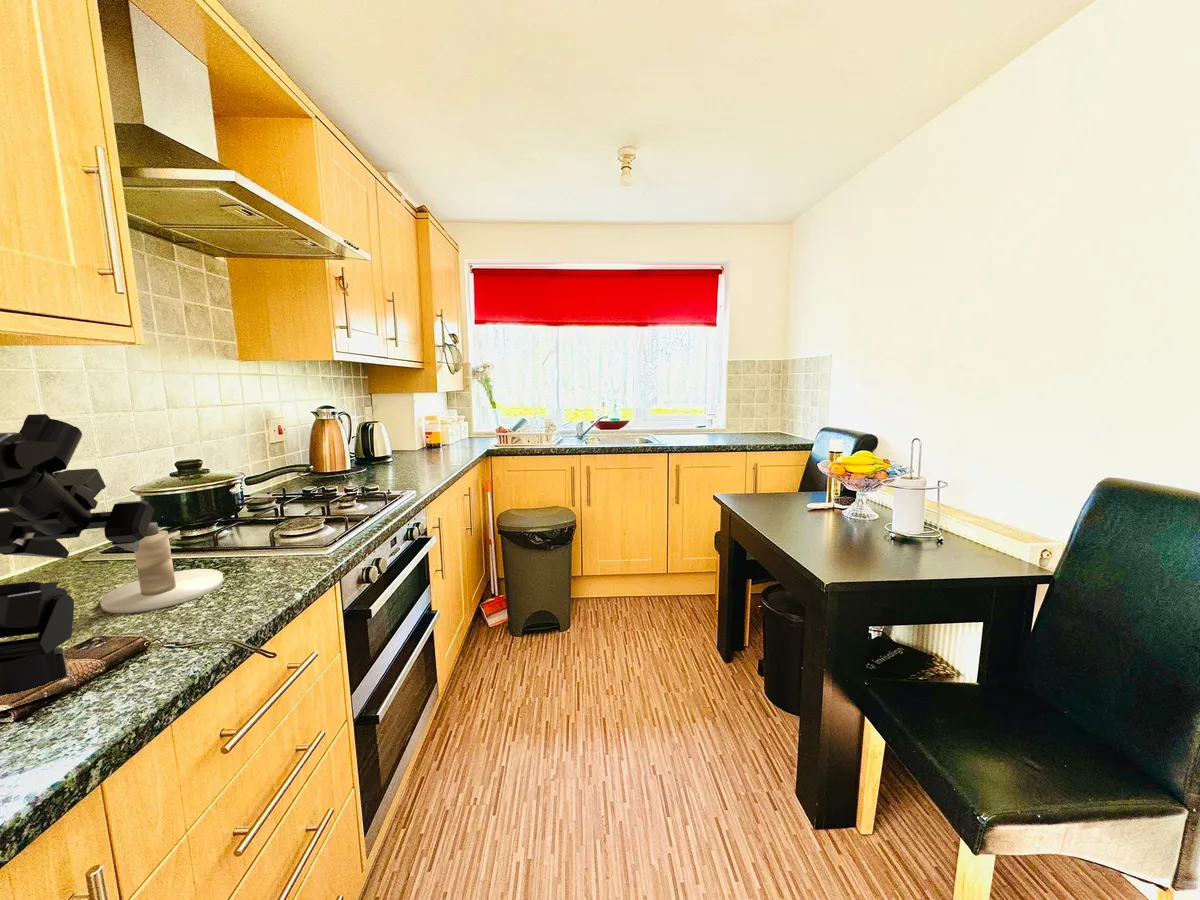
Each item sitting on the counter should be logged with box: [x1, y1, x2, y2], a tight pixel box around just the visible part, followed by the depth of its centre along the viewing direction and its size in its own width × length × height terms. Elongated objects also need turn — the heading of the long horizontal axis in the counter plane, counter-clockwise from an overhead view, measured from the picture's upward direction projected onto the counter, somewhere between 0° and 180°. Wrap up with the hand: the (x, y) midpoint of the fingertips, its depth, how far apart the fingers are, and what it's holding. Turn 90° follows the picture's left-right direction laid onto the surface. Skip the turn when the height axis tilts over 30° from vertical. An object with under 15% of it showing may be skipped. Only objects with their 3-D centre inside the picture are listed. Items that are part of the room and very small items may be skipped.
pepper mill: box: [134, 521, 176, 596], centre depth 95 cm, size 5×5×13 cm
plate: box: [99, 568, 224, 614], centre depth 98 cm, size 18×18×1 cm
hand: (102, 552), depth 81 cm, fingers open, 9 cm apart
